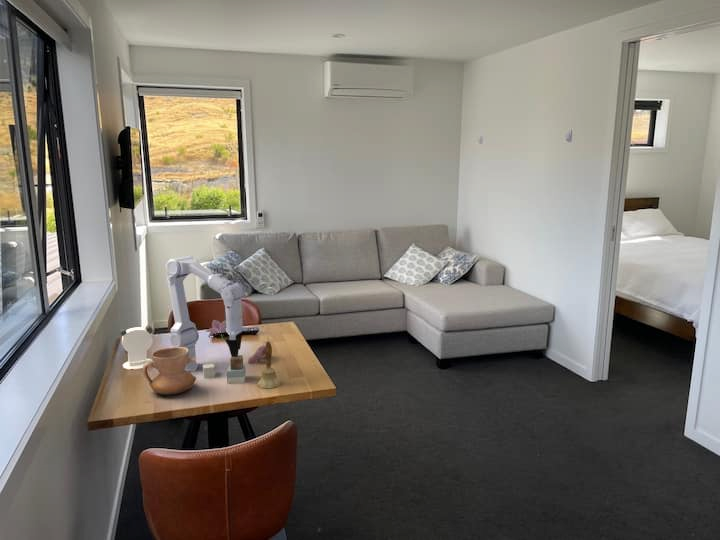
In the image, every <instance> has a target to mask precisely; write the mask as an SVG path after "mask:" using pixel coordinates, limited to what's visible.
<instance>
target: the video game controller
mask: <svg viewBox="0 0 720 540" xmlns="http://www.w3.org/2000/svg"><path fill="white" fill-rule="evenodd" d="M265 346H266V345H261V346H259V347H258V348H257V350H256V351H255V353H254V354H253V355H252V356H251V357H249V358H248V360H247V361H248V364H251V363H252V364H255V363H256V362H258V363H259V362H260V361H261V360H263V359H264V358H265Z"/></svg>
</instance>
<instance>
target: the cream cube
mask: <svg viewBox="0 0 720 540" xmlns="http://www.w3.org/2000/svg"><path fill="white" fill-rule="evenodd" d="M215 369H216V367H215V364H214V363H207V364H202V372H203V373H202V374H203V379H209V378H208V377H211V378H216V370H215Z"/></svg>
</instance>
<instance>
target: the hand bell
mask: <svg viewBox="0 0 720 540" xmlns="http://www.w3.org/2000/svg"><path fill="white" fill-rule="evenodd" d="M264 346H265V355H264V357H265V360H266V361H265V363H266V365H265V368H264V369H263V370H262V374H261V378H260V380H259V381H258V382H257V386H258V387H259V388H260V387H261V389H274V388H278V387H279V386H281V384H282V382H281V380H279V378H278V377H277V374H276V369H275V368H273V367H272V360H271V359H272V358H271V357H272V355H273V347H272V344H271V342H270V341H266V342H265V345H264Z"/></svg>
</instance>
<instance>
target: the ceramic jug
mask: <svg viewBox="0 0 720 540" xmlns="http://www.w3.org/2000/svg"><path fill="white" fill-rule="evenodd" d="M171 347H172V348H171ZM171 347H166V348H162V349H158V350H155V351H153V352H152V353H151V358H152V360H153V362H147V363H146V364H145V365H144V366H143V368H142V373H143V376H144V378H145V379H146V380H147V382H148V384H149V386H150V387H151V388H150V389H152V390H153V392H155V393H157V394H161V395H167V396H171V395H172V396H173V395H177V394H181V393H184V392H187V391H188V390H189V389H190V388H192V387H193V385H194V384H195V382H196V380H197V376H195V375H194V374H193V373H191V371H186V370H184V369H185V366H186V365H187V364H188V363H189V362H195V361H196V362H197V357H196V358H188V355H189V351H188V349H187V348H184V347H173V346H171ZM148 366H149V367H151V368H154V369H156V370H157V371H158V372H159V373H158V375H156V376H155V377H153V379H151V377H150V375H149V373H148V368H149V367H148Z"/></svg>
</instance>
